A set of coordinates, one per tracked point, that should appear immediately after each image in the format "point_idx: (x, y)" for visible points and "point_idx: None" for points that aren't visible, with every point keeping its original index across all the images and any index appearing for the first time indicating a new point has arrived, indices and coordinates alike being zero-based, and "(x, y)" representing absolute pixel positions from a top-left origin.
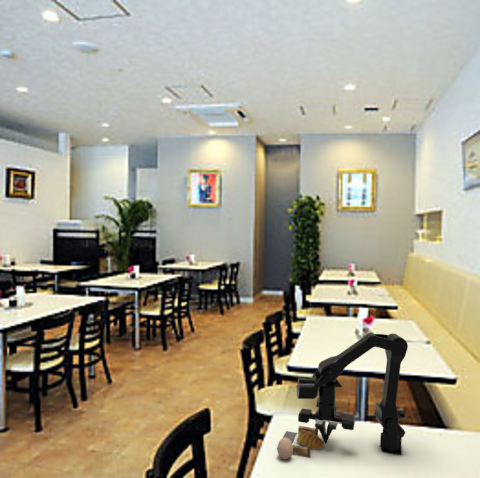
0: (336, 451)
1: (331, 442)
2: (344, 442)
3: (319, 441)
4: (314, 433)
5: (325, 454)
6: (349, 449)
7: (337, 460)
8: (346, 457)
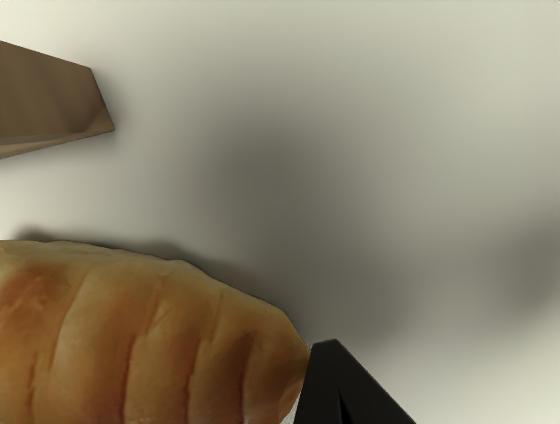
0: (428, 305)
1: (327, 152)
2: (479, 43)
3: (261, 411)
4: (39, 142)
5: None
6: (550, 191)
7: (462, 419)
8: (528, 345)
